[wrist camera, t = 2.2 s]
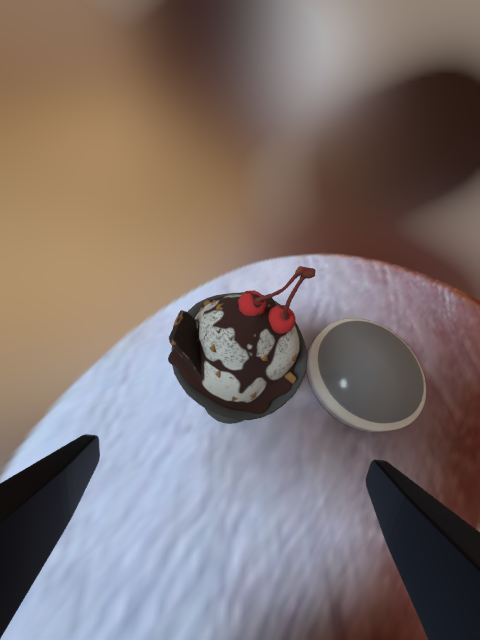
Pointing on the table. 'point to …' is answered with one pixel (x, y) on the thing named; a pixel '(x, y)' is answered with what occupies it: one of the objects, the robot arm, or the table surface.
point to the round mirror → (366, 376)
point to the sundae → (240, 353)
